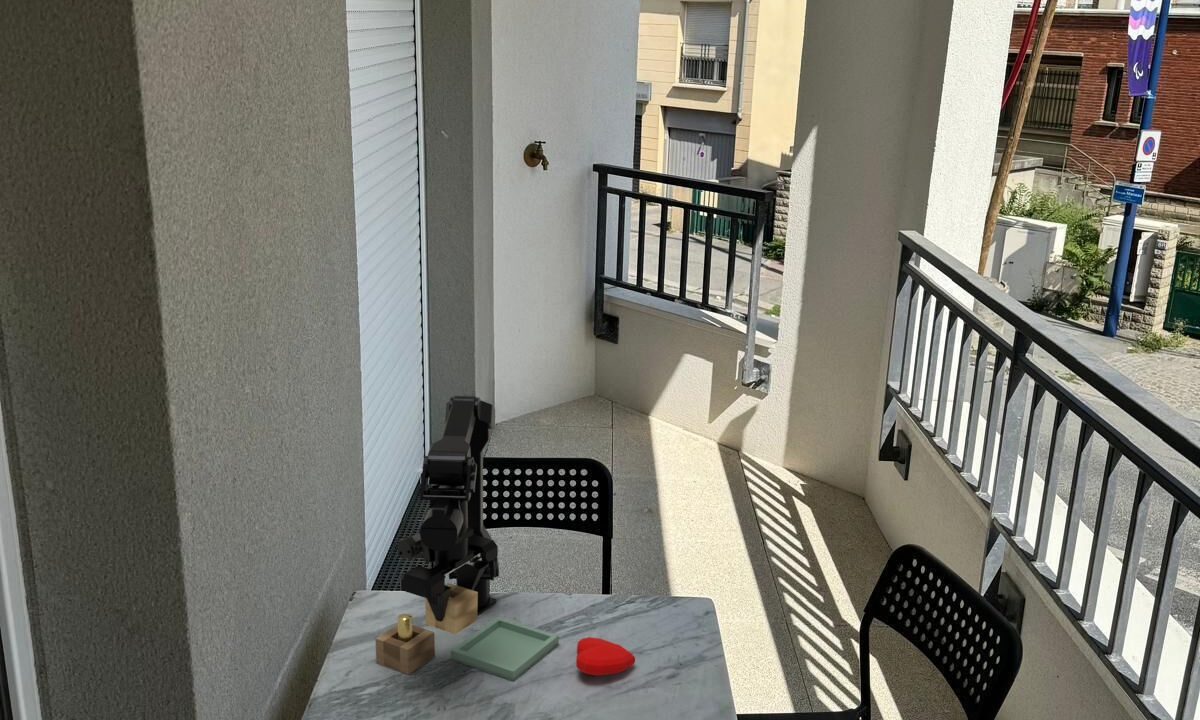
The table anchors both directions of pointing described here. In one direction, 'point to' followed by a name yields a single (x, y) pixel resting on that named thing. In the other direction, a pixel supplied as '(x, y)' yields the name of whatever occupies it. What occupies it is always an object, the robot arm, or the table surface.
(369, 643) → the table surface
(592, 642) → the heart
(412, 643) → the walnut block
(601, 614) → the table surface
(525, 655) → the green tray
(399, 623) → the brass pin
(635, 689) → the table surface
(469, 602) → the oak block
